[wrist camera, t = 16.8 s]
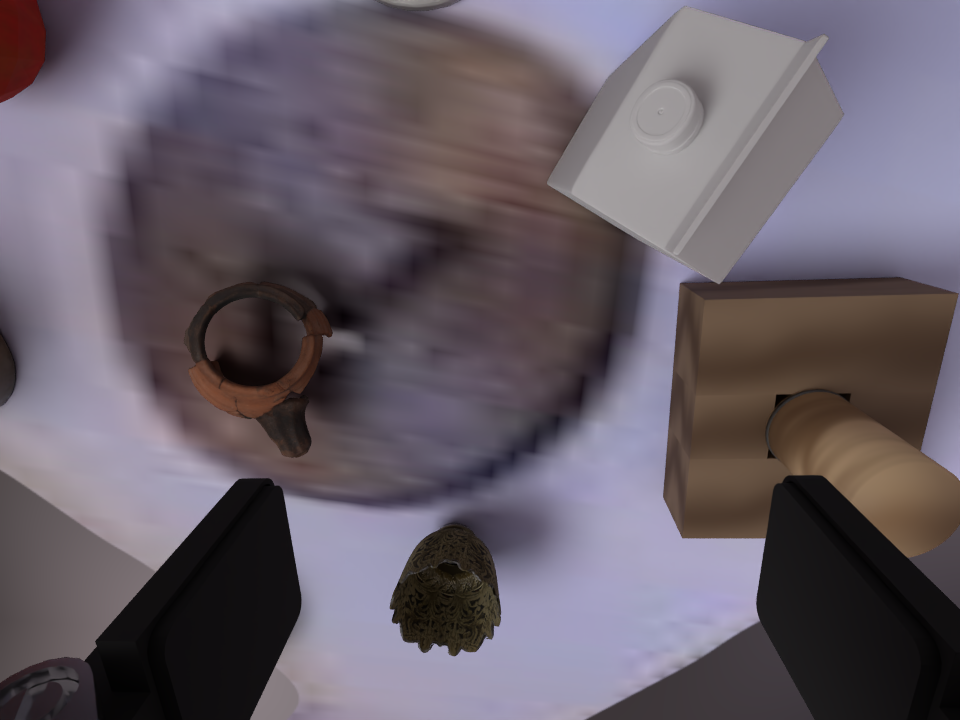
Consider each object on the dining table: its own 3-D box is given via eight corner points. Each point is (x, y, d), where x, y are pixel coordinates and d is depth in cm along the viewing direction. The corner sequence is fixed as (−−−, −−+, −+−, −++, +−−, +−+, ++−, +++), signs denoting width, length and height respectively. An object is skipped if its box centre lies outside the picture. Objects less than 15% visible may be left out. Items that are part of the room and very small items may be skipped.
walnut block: (679, 283, 37) (704, 299, 32) (899, 277, 36) (958, 293, 31) (663, 496, 42) (682, 538, 37) (854, 496, 41) (899, 538, 37)
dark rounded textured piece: (510, 507, 43) (510, 579, 36) (494, 583, 46) (491, 665, 38) (416, 491, 43) (396, 560, 36) (404, 568, 46) (383, 647, 38)
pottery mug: (181, 334, 41) (140, 311, 33) (301, 279, 43) (290, 244, 35) (260, 478, 41) (239, 489, 33) (376, 414, 43) (382, 410, 35)
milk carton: (706, 138, 34) (924, 102, 16) (638, 240, 36) (764, 309, 18) (608, 75, 33) (723, -38, 15) (545, 183, 35) (581, 196, 17)
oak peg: (741, 364, 38) (857, 462, 25) (821, 362, 38) (980, 461, 25) (732, 434, 40) (837, 559, 27) (809, 433, 39) (952, 559, 27)
